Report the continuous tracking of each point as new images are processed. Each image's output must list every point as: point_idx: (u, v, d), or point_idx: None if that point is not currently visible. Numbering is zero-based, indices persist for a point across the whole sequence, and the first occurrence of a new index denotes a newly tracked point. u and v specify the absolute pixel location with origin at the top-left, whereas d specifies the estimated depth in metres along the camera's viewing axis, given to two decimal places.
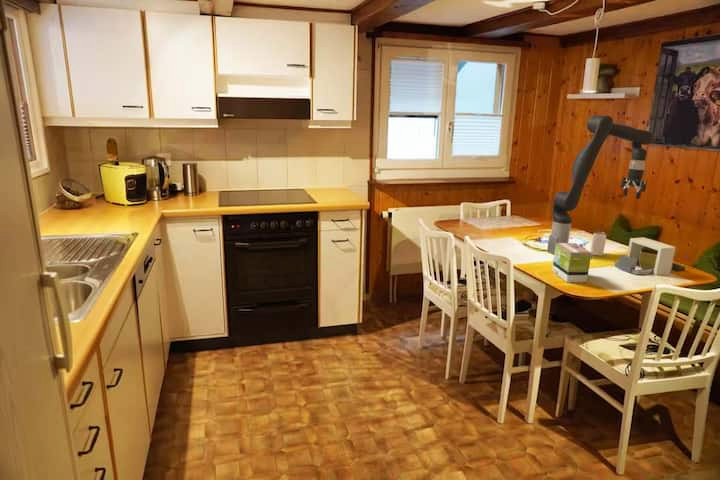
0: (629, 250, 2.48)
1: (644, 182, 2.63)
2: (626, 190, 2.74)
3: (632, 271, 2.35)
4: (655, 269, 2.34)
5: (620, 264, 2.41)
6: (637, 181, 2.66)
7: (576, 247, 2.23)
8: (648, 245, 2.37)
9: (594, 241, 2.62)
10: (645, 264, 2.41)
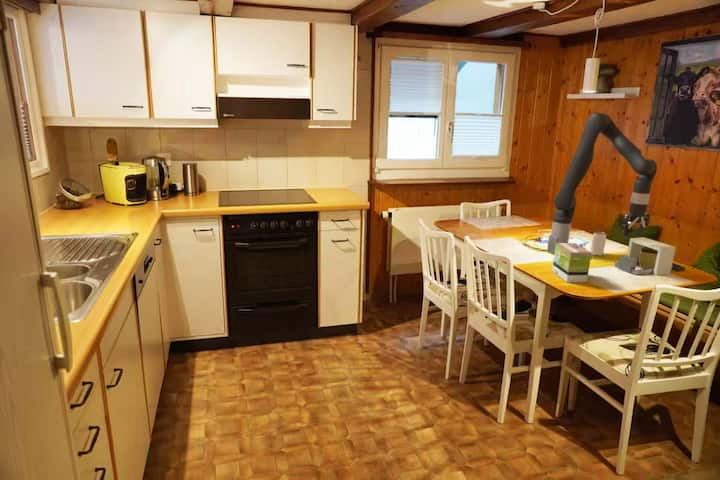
0: (629, 250, 2.48)
1: None
2: None
3: (632, 271, 2.35)
4: (655, 269, 2.34)
5: (620, 264, 2.41)
6: (643, 216, 2.32)
7: (576, 247, 2.23)
8: (648, 245, 2.37)
9: (594, 241, 2.62)
10: (646, 264, 2.41)
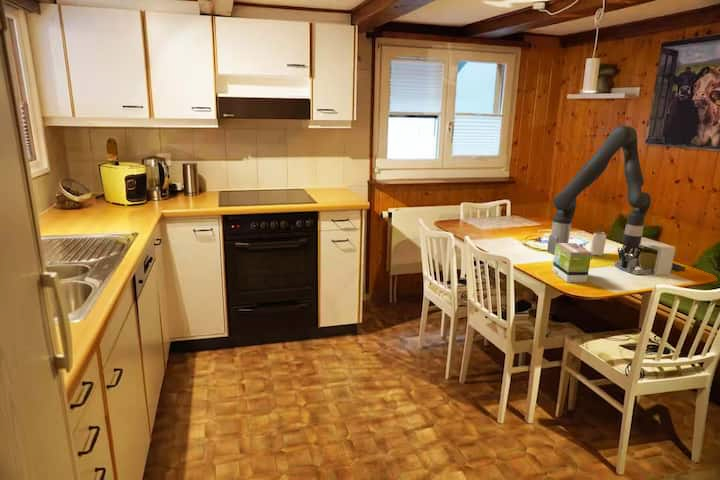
0: None
1: None
2: None
3: (632, 271, 2.35)
4: (655, 269, 2.34)
5: (620, 264, 2.41)
6: (637, 249, 2.37)
7: (576, 247, 2.23)
8: (648, 245, 2.37)
9: (594, 241, 2.62)
10: (646, 264, 2.41)
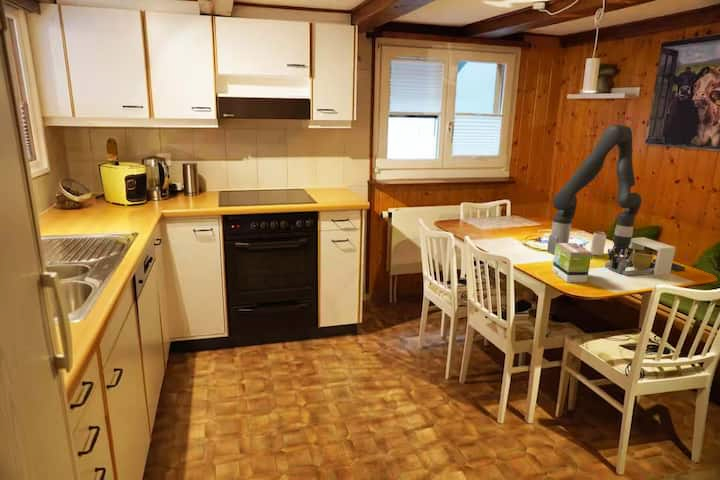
0: None
1: None
2: None
3: (622, 272, 2.33)
4: (655, 269, 2.34)
5: (610, 265, 2.39)
6: (627, 249, 2.35)
7: (576, 247, 2.23)
8: (648, 245, 2.37)
9: (594, 241, 2.62)
10: (639, 265, 2.39)
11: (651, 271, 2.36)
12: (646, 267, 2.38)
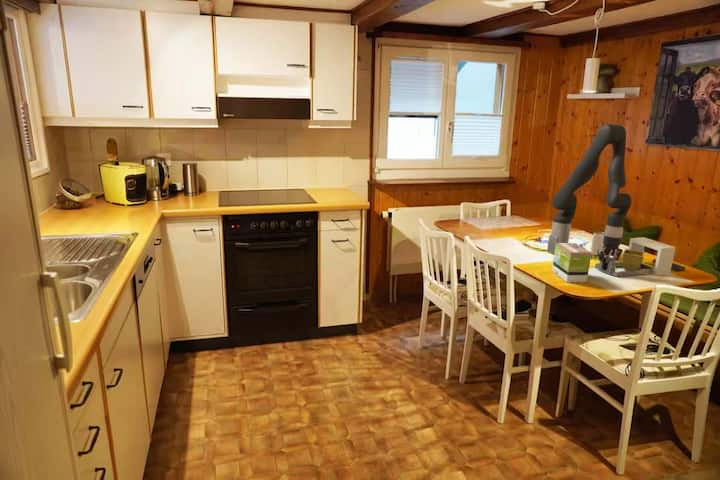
0: None
1: None
2: None
3: (612, 273, 2.32)
4: (655, 269, 2.34)
5: (600, 266, 2.37)
6: (617, 250, 2.33)
7: (576, 247, 2.23)
8: (648, 245, 2.37)
9: (594, 241, 2.62)
10: (628, 265, 2.38)
11: (641, 272, 2.34)
12: (636, 268, 2.36)
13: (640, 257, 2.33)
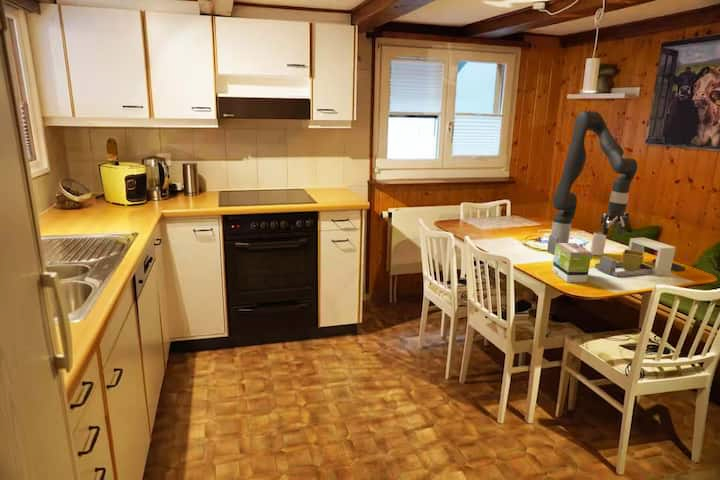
0: None
1: None
2: None
3: (612, 273, 2.31)
4: (655, 269, 2.34)
5: (600, 266, 2.37)
6: (622, 215, 2.30)
7: (576, 247, 2.23)
8: (648, 245, 2.37)
9: (594, 241, 2.62)
10: (628, 265, 2.38)
11: (641, 272, 2.34)
12: (635, 268, 2.36)
13: (640, 257, 2.33)
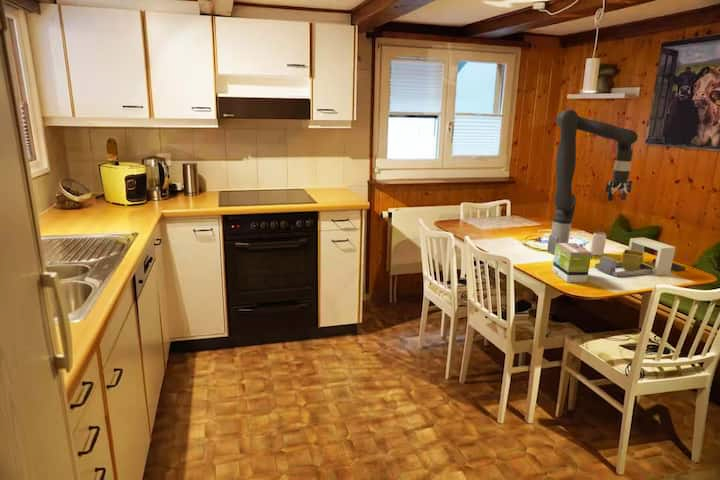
0: None
1: None
2: None
3: (612, 273, 2.31)
4: (655, 269, 2.34)
5: (600, 266, 2.37)
6: (626, 182, 2.53)
7: (576, 247, 2.23)
8: (648, 245, 2.37)
9: (594, 241, 2.62)
10: (628, 265, 2.38)
11: (641, 272, 2.34)
12: (635, 268, 2.36)
13: (640, 257, 2.33)
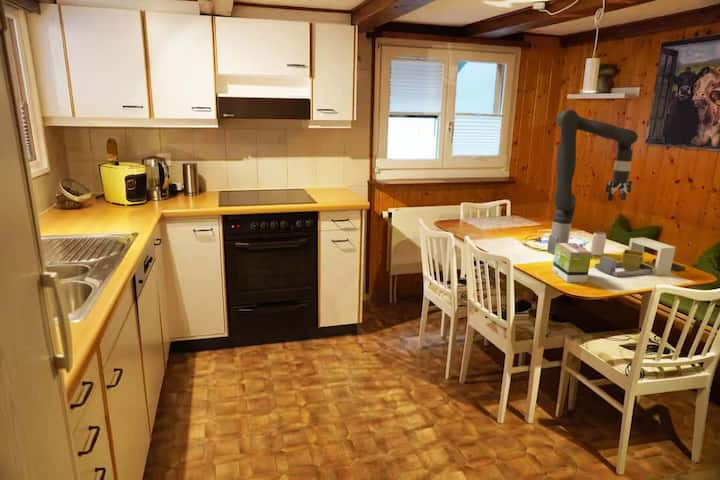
0: None
1: None
2: None
3: (612, 273, 2.31)
4: (655, 269, 2.34)
5: (600, 266, 2.37)
6: (625, 182, 2.53)
7: (576, 247, 2.23)
8: (648, 245, 2.37)
9: (594, 241, 2.62)
10: (628, 265, 2.38)
11: (641, 272, 2.34)
12: (635, 268, 2.36)
13: (640, 257, 2.33)
